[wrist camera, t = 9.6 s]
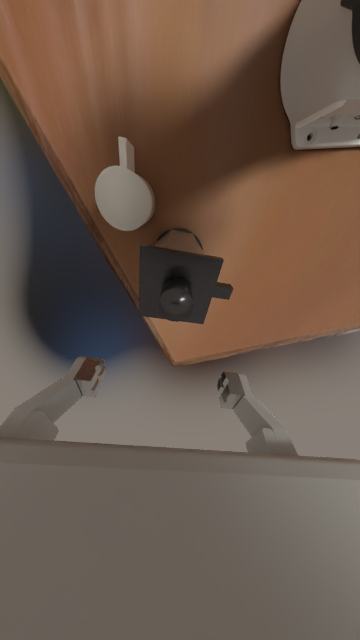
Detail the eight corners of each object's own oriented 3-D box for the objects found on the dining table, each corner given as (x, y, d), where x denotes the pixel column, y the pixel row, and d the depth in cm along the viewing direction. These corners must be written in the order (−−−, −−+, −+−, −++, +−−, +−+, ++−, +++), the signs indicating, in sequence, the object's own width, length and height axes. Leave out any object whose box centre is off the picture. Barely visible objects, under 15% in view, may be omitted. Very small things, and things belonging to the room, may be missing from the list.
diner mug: (157, 155, 28) (149, 139, 21) (154, 227, 34) (147, 234, 27) (110, 145, 27) (85, 125, 20) (116, 221, 34) (99, 227, 27)
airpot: (152, 275, 41) (136, 317, 27) (155, 223, 34) (136, 241, 20) (207, 284, 42) (221, 328, 28) (221, 236, 35) (249, 261, 21)
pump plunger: (189, 249, 36) (196, 294, 19) (185, 269, 38) (189, 323, 22) (169, 246, 35) (159, 289, 19) (167, 266, 38) (156, 319, 21)
